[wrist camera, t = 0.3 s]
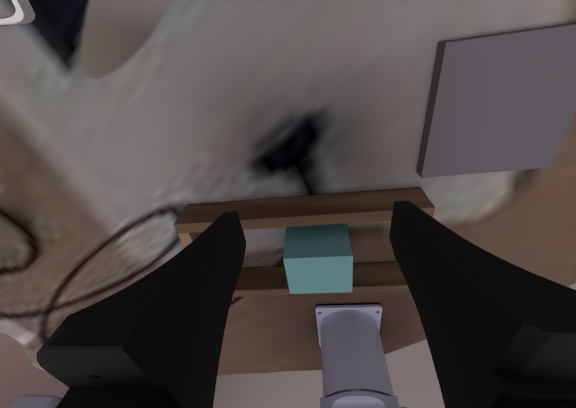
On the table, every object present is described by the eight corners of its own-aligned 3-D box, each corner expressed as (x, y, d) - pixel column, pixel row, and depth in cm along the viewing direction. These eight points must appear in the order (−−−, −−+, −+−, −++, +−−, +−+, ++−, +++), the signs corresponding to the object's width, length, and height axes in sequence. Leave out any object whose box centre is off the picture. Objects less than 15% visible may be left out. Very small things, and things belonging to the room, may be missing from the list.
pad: (539, 161, 19) (549, 167, 19) (416, 171, 21) (421, 177, 20) (605, 18, 15) (623, 17, 14) (438, 42, 16) (446, 42, 15)
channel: (405, 267, 27) (415, 291, 24) (217, 275, 30) (208, 297, 27) (420, 187, 21) (435, 207, 19) (187, 204, 24) (173, 224, 22)
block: (345, 251, 26) (352, 292, 22) (292, 253, 27) (290, 293, 23) (345, 217, 24) (352, 255, 20) (287, 220, 24) (283, 258, 20)
